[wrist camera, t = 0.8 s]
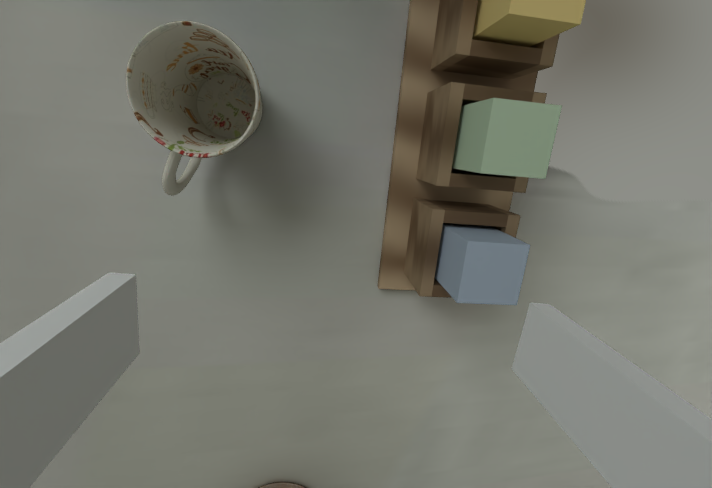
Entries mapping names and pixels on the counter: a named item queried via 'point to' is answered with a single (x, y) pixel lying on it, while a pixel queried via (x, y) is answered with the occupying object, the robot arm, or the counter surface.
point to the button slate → (480, 264)
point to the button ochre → (525, 20)
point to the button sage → (506, 137)
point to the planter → (282, 485)
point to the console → (447, 138)
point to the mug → (192, 94)
